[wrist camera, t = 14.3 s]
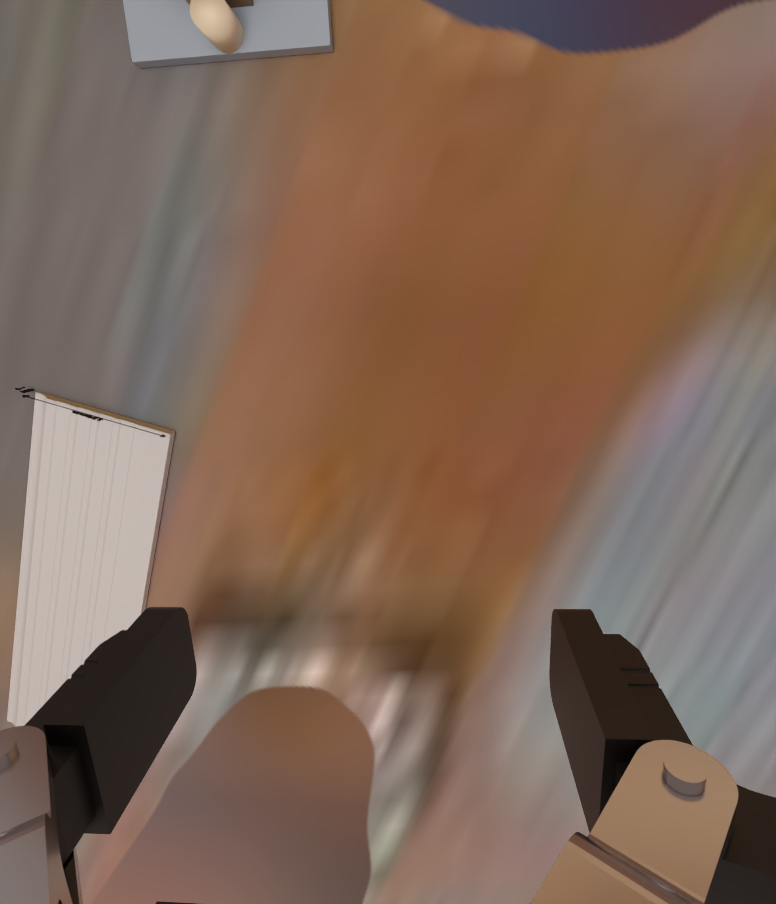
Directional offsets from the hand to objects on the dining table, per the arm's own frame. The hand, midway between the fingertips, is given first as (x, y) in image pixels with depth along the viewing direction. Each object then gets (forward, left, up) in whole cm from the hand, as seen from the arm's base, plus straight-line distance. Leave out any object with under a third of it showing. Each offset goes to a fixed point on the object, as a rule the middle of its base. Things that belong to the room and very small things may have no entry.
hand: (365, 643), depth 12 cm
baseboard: (+28, +15, -29) cm, 43 cm away
